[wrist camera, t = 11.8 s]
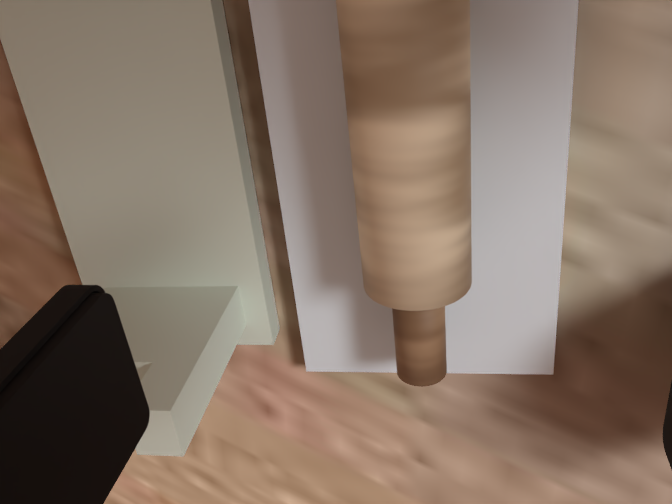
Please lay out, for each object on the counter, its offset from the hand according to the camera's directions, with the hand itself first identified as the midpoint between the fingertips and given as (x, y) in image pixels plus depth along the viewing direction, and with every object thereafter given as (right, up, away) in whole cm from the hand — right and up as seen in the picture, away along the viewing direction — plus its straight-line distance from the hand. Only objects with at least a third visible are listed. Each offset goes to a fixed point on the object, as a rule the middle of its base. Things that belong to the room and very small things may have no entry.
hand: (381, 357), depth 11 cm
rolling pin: (+3, +8, +16) cm, 19 cm away
